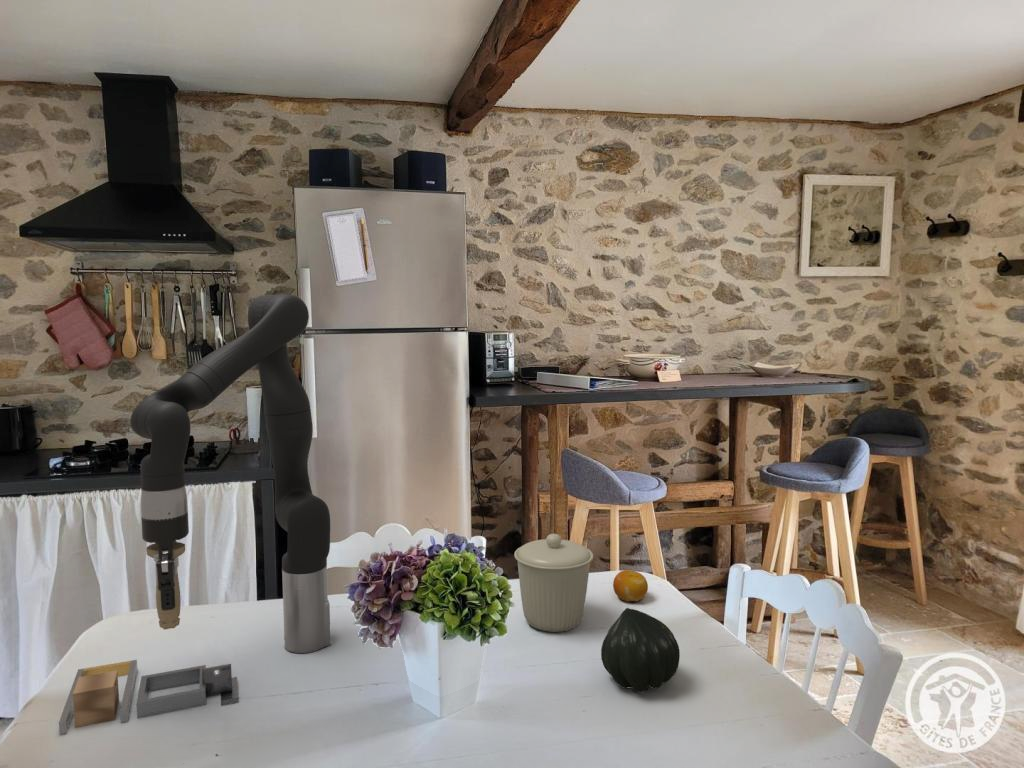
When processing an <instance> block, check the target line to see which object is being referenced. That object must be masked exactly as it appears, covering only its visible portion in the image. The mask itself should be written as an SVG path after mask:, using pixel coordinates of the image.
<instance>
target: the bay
mask: <svg viewBox="0 0 1024 768" xmlns="http://www.w3.org/2000/svg"><path fill="white" fill-rule="evenodd" d="M112 671H117V673H118V677H120V676H127V678H126V683H125V686H124V690H123V691H124V692H123V695H122V700H121V705H120V709H119V716H120V724H123V723H128V719H129V714H130V709H131V706H132V705H131V704H132V699H133V694H134V690H135V685H136V684H135V683H136V680H137V675H138V659H133V660H128V661H122V662H115V663H110V664H109V663H108V664H103V665H99V666H98V665H97V666H92V667H84V668H80V669H77V672H76V674H75V678H74V679H73V682H72V685H71V688H70V691H69V693H68V697H67V698H66V702H65V705H64V707H63V710H62V713H61V715H60V717H59V720H58V729H59V730H58V731H59V736H61V735H66V734H68V731H69V729H70V728H69V727H70V726H71V722H72V719H73V716H74V703H73V692H74V689H75V687H76V684H77V681H78V678H79V677H82V676H88V675H94V674H100V673H106V672H112Z"/></svg>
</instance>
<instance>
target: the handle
mask: <svg viewBox="0 0 1024 768" xmlns="http://www.w3.org/2000/svg"><path fill="white" fill-rule="evenodd" d="M145 548H146V549H145V550H146V551H145V552H146V555H147V556H148V557H150V558H153V559H154V554H155V556H156V554H157V553H158V544H157V543H150V544H149V545H147V547H145ZM172 551H173V561H174V558H175V557H178V556H179V557H180V556H182V555H183V554H185V552H186V544H185V543H183V542H180V541H179V542H178V541H177V542H174V544H173V550H172ZM179 557H178V558H179ZM156 558H157V559H159V557H156ZM173 570H174V566H173ZM155 576H156V575H155ZM168 582H171V580H170V579H167V580H163V583H168ZM155 584H156V585H155V591H156V592H155V601H156V602H155V603H156V604H155V605H156V613H157V618H158V623H159V624H158V625H159V627H160V628H162V630H170V629H175V628H176V627H178V626H179V625H180V622H181V621H180V620H181V618H180V614H181V600H182V599H181V589H180V588H181V587H180V581H179V573H177V574H176V575H175V584H176V586H175V608H174V609H170V610H162V608H161V591H159V589H158V577H157V576H156V583H155Z"/></svg>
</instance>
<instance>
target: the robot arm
mask: <svg viewBox="0 0 1024 768" xmlns="http://www.w3.org/2000/svg"><path fill="white" fill-rule="evenodd" d="M306 304H307V303H305V302H304V301H303V300H302V299H301V298H300V297H299V296H296V295H293V294H288V293H286V294H285V293H281V294H280V293H279V294H277V293H276V294H263V295H260V296H257V297H255V298H254V299H252V301H251V303H250V304H249V306H248V310H247V324H248V330H247V331H246V332H245V333H243V334H242V335H240V336H238V337H236V338H235V339H234V340H232V341H230V342H228V343H226V344H224V345H222V346H221V347H219V348H217V349H215V350H213V351H212V352H210V353H208V354H207V355H205V356H204V357H202V358H201V359H199V360H198V362H196V363H195V364H194V365H192V367H190V368H189V369H188V370H187V371H185V372H184V373H183V374H182V375H181V376H180V377H179V378H177V379H176V380H174V381H172V382H170V383H169V384H167V385H164V386H163V387H161V388H160V389H158V390H157V391H155V392H153V393H151V394H149V395H148V396H147V397H145V398H144V399H143V400H141V402H139V403H138V404H137V405H136V407H135V408H134V410H132V414H131V416H130V426H131V430H132V431H133V432H134V433H135V434H136V435H137V436H140V437H141V438H143V439H147V440H151V442H150V443H151V444H150V445H151V446H150V453H149V454H147V455H146V456H144V457H143V458H142V459H141V462H140V484H141V485H140V487H141V493H140V494H141V495H140V516H141V517H140V518H141V520H140V521H141V535H142V540H143V541H145V542H146V543H150V544H154V543H157V544H158V553H157V554H156V556H155V554H154V558H153V561H154V562H155V576H157V577H158V589H159V591H161V608H162V610H170V609H174V608H175V586H176V584H175V575H176V574H177V573H178V572H179V570H178V569H179V568H178V567H179V557H180V556H178V557H175V558H174V561H173V551H172V550H173V544H174V542H178V541H179V540H183V539H184V538H186V537H187V536H189V532H190V531H189V529H190V526H189V506H188V494H187V489H186V477H185V476H186V475H185V474H186V473H185V472H186V471H185V460H186V456H187V451H188V447H189V446H188V445H189V442H190V437H191V420H190V417H189V413H191V411H195V410H201V409H202V410H203V409H204V408H205V407H207V406H209V405H210V404H212V402H214V400H215V399H217V398H218V397H219V396H221V394H222V393H223V392H225V391H226V390H228V388H229V387H230V386H231V385H232V384H233V383H234V382H236V381H237V380H238V379H239V378H240V377H242V376H243V375H244V374H246V373H247V372H248V371H249V370H250V369H252V368H253V367H254V366H255V365H257V367H258V373H259V374H258V375H259V381H260V388H261V393H262V394H261V395H262V401H263V413H264V420H265V428H266V433H267V439H268V445H269V453H270V458H271V463H272V468H273V475H274V477H273V478H274V511H275V519H276V521H277V523H278V525H279V526H280V527H281V528H282V529H283V530H284V531H285V532H287V552H285V553H284V554H283V555H282V558H281V573H282V574H281V575H282V580H281V581H282V600H283V601H282V604H283V605H282V607H283V634H284V635H283V636H284V637H283V640H284V648H285V650H287V651H288V652H291V653H293V654H294V653H296V654H308V653H313V652H316V651H319V650H322V649H323V648H325V647H329V646H331V644H332V643H331V613H330V612H331V610H330V609H331V607H330V601H329V598H328V597H329V596H328V594H329V593H328V566H327V565H328V562H327V561H328V557H329V554H330V550H331V514H330V508H329V507H328V504H327V503H326V502H325V501H324V500H323V499H322V498H320V497H319V496H316V495H314V494H313V491H312V487H311V482H310V477H309V476H310V475H309V470H308V462H309V455H310V450H311V445H312V441H313V430H314V428H313V425H314V424H313V417H312V408H311V404H310V399H309V396H308V393H307V392H306V390H305V388H304V385H303V384H302V382H301V381H300V379H299V377H298V376H297V374H296V372H295V370H294V369H293V366H292V363H291V360H290V356H289V352H288V344H289V343H290V342H291V341H293V340H294V339H296V338H297V337H299V336H301V334H303V332H304V331H305V330H306V329H307V327H308V324H309V317H310V315H309V313H310V312H309V310H308V307H307V305H306ZM156 557H159V559H157V558H156ZM173 566H174V570H173ZM178 574H179V573H178ZM167 579H170V580H171V582H168V583H163V580H167Z"/></svg>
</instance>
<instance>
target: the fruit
mask: <svg viewBox="0 0 1024 768" xmlns="http://www.w3.org/2000/svg"><path fill="white" fill-rule="evenodd" d="M613 578H614V579H613V583H612V587H613V591H614V594H615V595H617V597H618V598H619V599H620V600H622V601H624V600H625V602H628V601H635V602H639V601H641V600H642V599H643V598H644V597H645V596H646V595H647V592H648V590H649V585H648V580H647V579H646V577H645V576H644V575H643V574H642V573H641V572H638V571H635V570H631V569H630V570H629V569H626V570H625V569H624V570H622V571H619V572H618V573H617V574H616V575H615V577H613ZM638 600H639V601H638Z"/></svg>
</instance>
